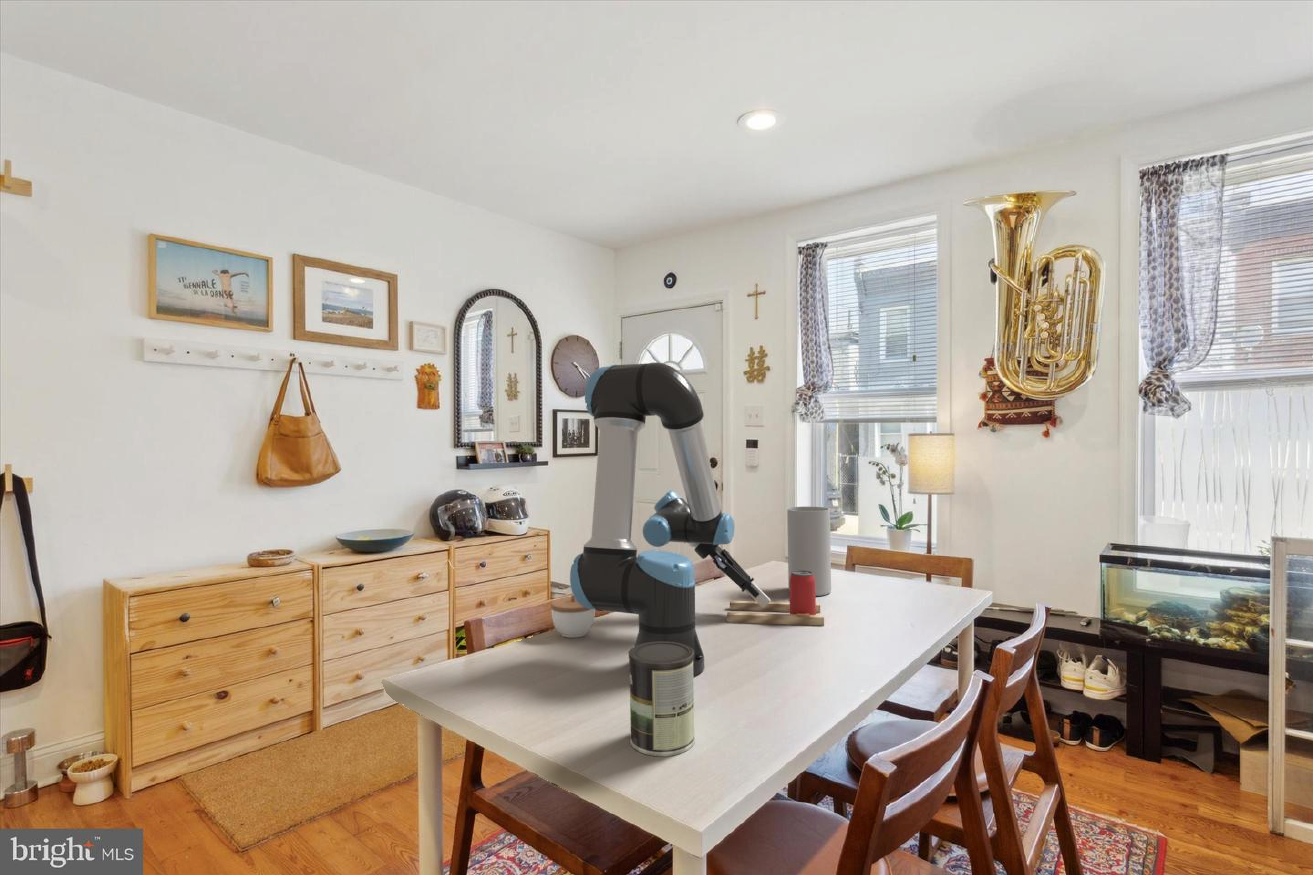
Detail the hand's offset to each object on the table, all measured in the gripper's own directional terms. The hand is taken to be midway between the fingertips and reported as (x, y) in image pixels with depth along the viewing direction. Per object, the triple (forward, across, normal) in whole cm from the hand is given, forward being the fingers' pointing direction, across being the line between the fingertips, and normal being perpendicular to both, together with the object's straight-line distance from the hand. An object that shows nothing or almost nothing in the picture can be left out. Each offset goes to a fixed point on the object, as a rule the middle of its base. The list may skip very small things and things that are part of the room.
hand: (766, 603), depth 167 cm
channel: (+4, 0, -1) cm, 4 cm away
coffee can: (-7, +71, -13) cm, 73 cm away
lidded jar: (-30, +21, -35) cm, 51 cm away
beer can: (+9, +1, +4) cm, 10 cm away
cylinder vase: (+11, -28, +6) cm, 31 cm away
